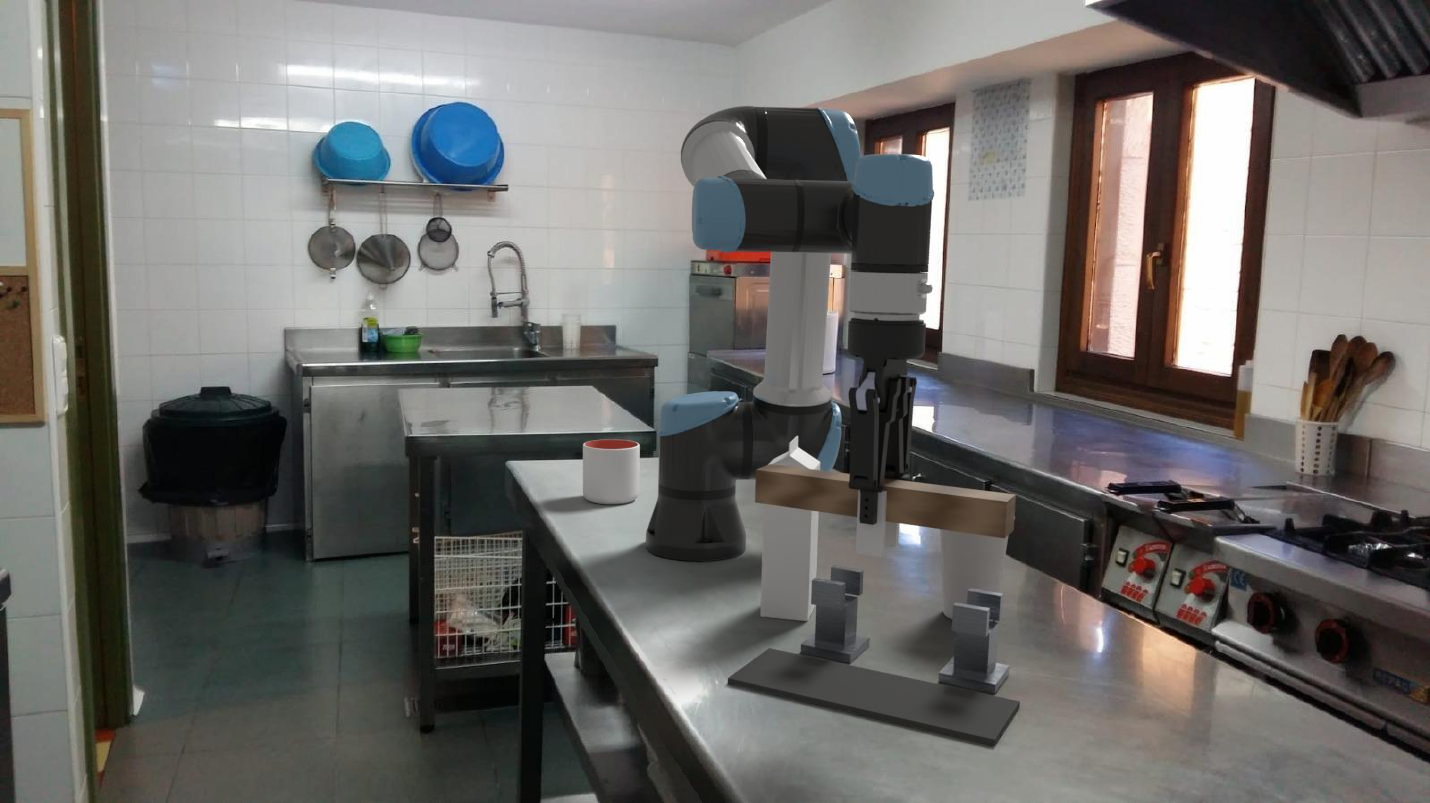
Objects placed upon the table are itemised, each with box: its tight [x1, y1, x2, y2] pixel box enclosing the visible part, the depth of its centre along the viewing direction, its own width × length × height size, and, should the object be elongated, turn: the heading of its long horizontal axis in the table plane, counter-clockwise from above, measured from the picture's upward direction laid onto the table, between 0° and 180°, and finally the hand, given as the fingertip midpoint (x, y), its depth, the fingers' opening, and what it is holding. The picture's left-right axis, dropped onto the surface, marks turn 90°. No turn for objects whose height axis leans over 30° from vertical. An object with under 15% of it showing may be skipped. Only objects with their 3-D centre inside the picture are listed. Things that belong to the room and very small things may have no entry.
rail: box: [754, 464, 1017, 538], centre depth 110 cm, size 26×4×4 cm, turn 62°
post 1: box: [800, 564, 871, 664], centre depth 125 cm, size 6×7×9 cm
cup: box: [582, 438, 641, 505], centre depth 194 cm, size 10×10×10 cm
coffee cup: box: [939, 516, 1016, 622], centre depth 137 cm, size 10×10×15 cm
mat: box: [727, 647, 1021, 747], centre depth 113 cm, size 28×10×1 cm, turn 62°
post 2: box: [938, 588, 1010, 695], centre depth 117 cm, size 6×7×9 cm
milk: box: [760, 436, 820, 622], centre depth 136 cm, size 6×6×22 cm
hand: (877, 548), depth 110 cm, fingers closed on rail, 3 cm apart
